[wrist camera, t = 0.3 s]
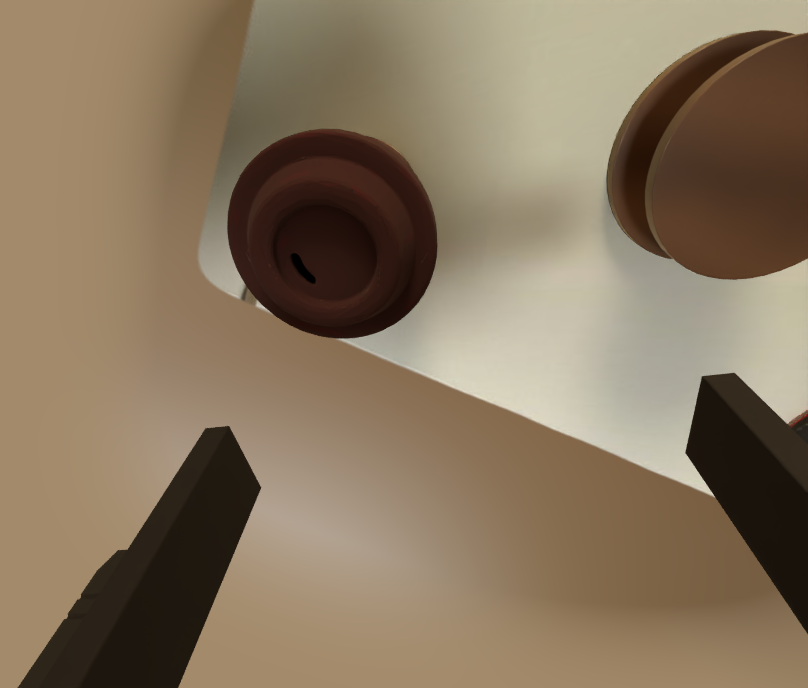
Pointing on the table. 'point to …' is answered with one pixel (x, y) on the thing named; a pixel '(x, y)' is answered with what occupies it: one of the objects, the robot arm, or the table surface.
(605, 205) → the table surface
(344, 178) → the coffee cup
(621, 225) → the stand
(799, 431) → the handheld console
